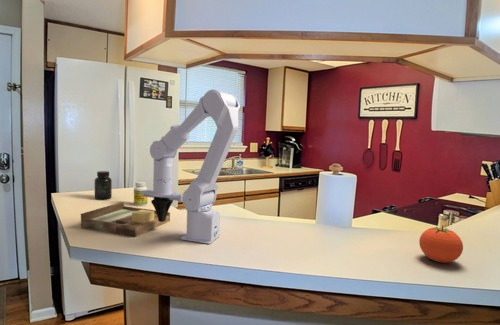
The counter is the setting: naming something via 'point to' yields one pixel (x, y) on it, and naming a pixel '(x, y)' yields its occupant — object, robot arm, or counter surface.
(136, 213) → the block
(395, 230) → the counter surface
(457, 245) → the tomato
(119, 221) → the box
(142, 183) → the supplement bottle
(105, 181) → the supplement bottle
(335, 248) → the counter surface
